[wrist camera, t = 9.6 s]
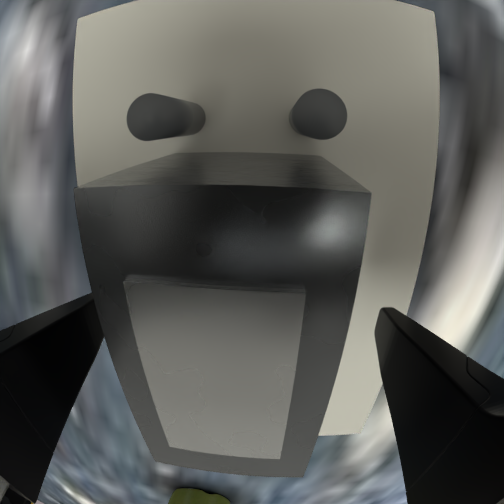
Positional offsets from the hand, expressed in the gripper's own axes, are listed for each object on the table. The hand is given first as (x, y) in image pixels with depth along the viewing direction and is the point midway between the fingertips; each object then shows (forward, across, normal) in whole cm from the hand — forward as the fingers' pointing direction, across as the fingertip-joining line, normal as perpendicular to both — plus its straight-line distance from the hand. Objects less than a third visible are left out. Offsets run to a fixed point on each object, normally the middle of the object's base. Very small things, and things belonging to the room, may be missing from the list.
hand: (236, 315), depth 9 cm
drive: (+3, 0, 0) cm, 3 cm away
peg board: (+4, 0, 0) cm, 4 cm away
